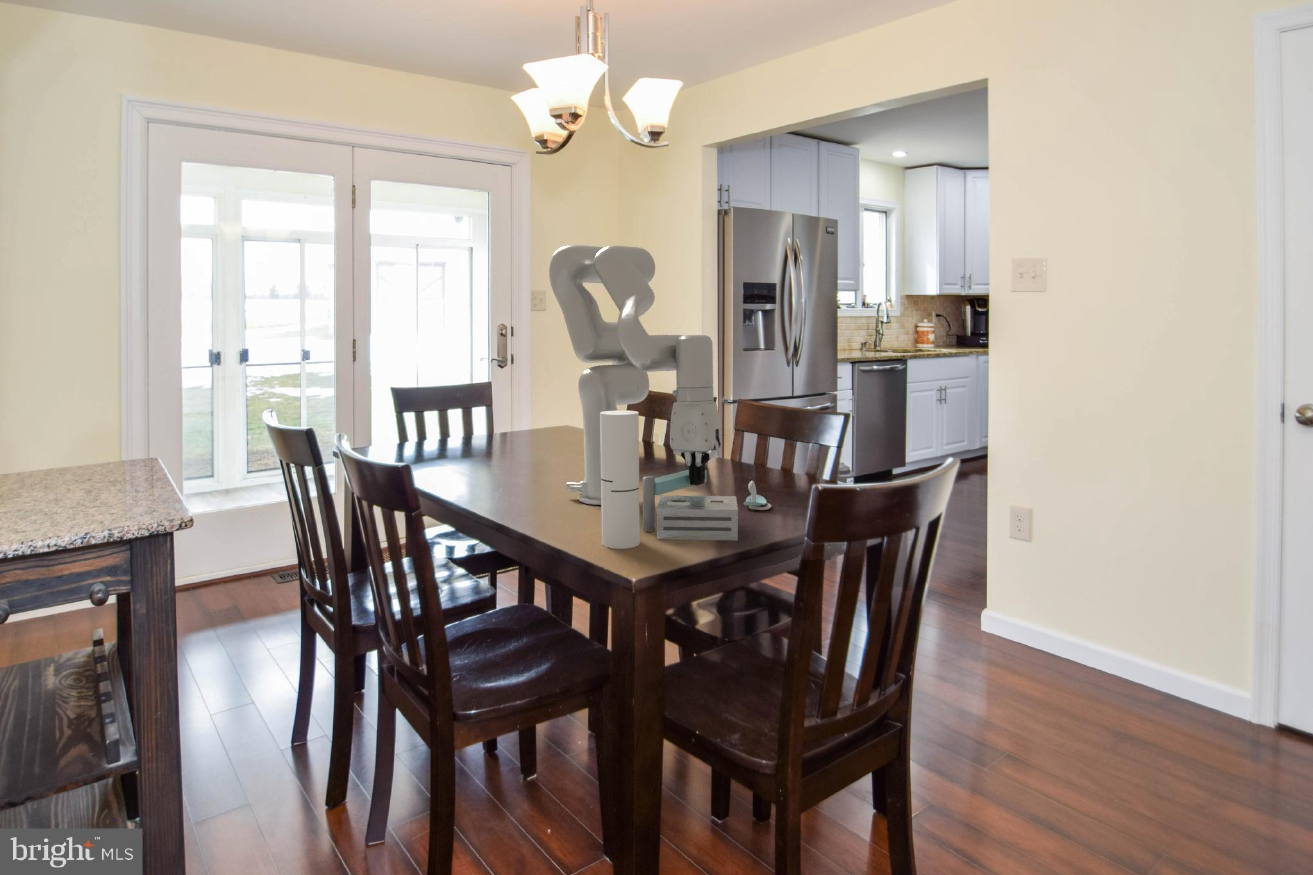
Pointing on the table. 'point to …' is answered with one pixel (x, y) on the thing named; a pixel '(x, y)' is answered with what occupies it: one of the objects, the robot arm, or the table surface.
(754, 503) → the pacifier
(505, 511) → the table surface
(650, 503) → the swing bar
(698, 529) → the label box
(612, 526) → the cylindrical container
